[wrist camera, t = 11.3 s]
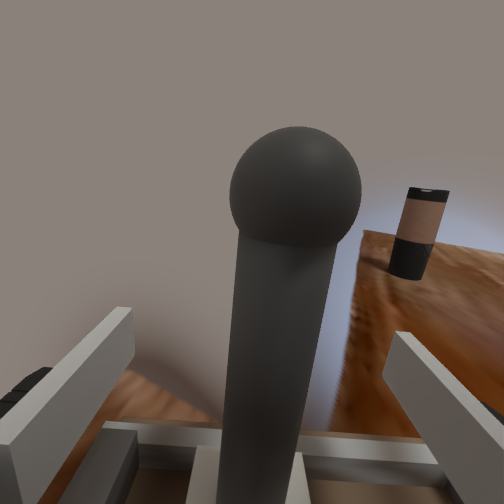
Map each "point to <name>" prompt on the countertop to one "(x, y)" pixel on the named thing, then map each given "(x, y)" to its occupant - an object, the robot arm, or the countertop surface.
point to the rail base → (209, 434)
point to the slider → (276, 312)
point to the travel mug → (417, 232)
